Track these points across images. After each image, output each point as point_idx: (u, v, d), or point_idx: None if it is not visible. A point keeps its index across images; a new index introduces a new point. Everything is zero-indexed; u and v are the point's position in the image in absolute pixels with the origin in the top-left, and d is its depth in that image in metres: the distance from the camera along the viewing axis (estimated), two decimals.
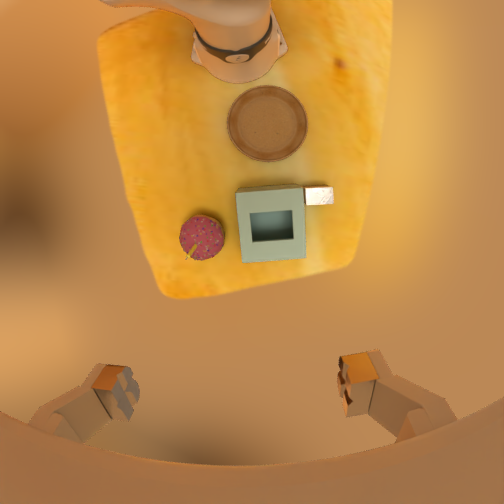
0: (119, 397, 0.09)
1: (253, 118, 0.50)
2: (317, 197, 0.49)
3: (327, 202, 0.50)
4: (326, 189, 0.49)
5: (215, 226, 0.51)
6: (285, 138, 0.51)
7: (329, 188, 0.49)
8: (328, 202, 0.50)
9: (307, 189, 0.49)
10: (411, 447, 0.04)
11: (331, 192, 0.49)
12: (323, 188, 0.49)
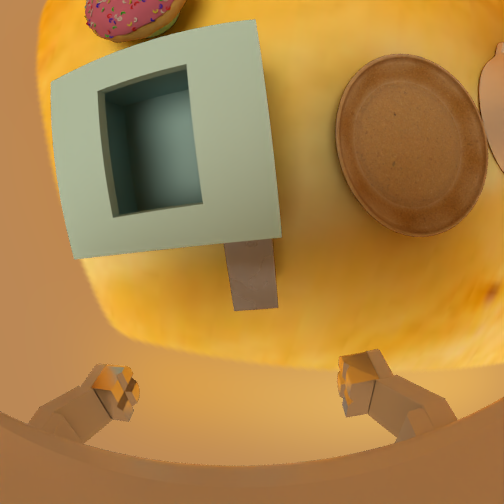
0: (119, 397, 0.09)
1: (423, 116, 0.18)
2: (247, 271, 0.18)
3: (236, 296, 0.19)
4: (271, 292, 0.19)
5: (156, 8, 0.12)
6: (383, 181, 0.21)
7: (274, 299, 0.19)
8: (236, 298, 0.19)
9: (269, 242, 0.18)
10: (411, 447, 0.04)
11: (263, 305, 0.19)
12: (273, 284, 0.19)
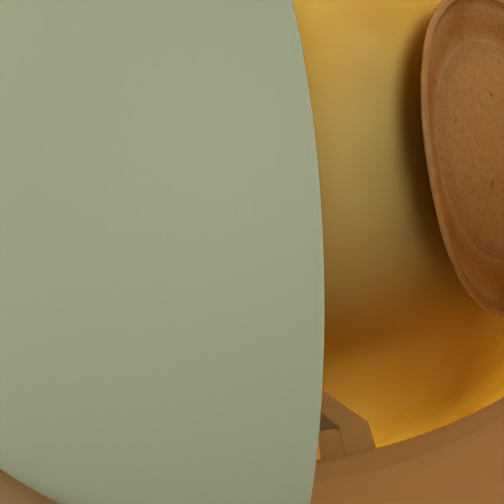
0: None
1: None
2: None
3: None
4: None
5: None
6: (476, 217, 0.09)
7: None
8: None
9: None
10: (411, 447, 0.04)
11: None
12: None
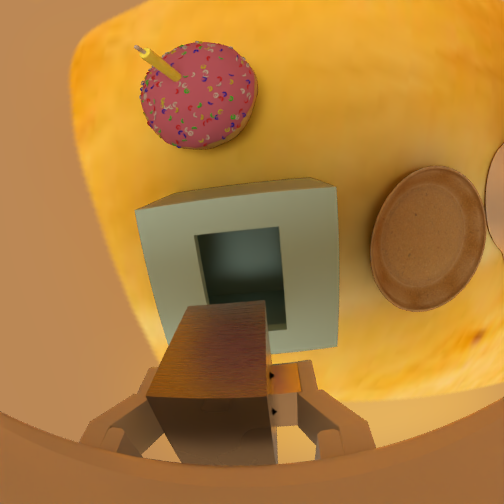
0: None
1: (437, 213, 0.24)
2: (210, 446, 0.07)
3: None
4: None
5: (227, 126, 0.18)
6: (399, 269, 0.26)
7: None
8: None
9: (259, 406, 0.06)
10: (411, 447, 0.04)
11: None
12: (270, 461, 0.07)
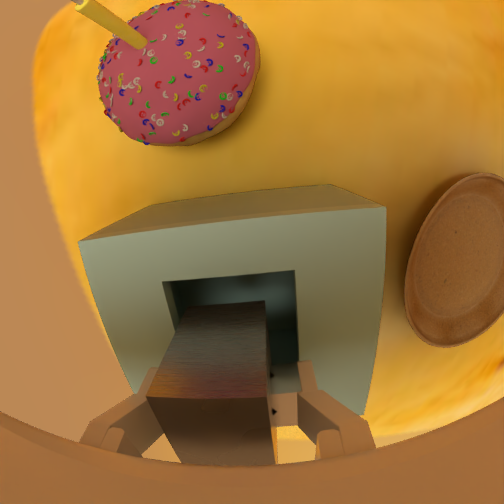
0: None
1: (479, 229, 0.18)
2: (210, 446, 0.07)
3: None
4: None
5: (215, 111, 0.12)
6: (433, 298, 0.20)
7: None
8: None
9: (259, 406, 0.06)
10: (411, 447, 0.04)
11: None
12: (270, 461, 0.07)
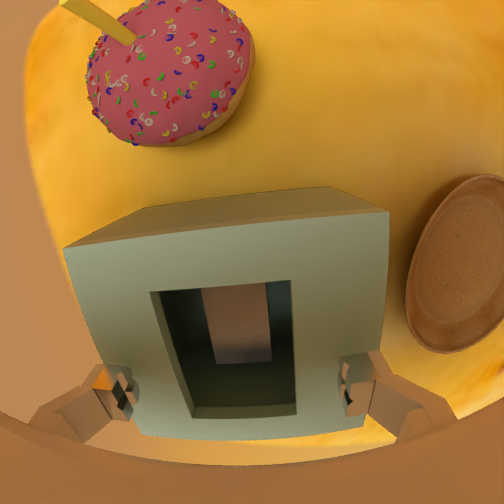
0: (119, 397, 0.09)
1: (481, 232, 0.17)
2: (232, 319, 0.14)
3: (218, 347, 0.14)
4: (263, 344, 0.14)
5: (207, 109, 0.11)
6: (434, 303, 0.19)
7: (267, 352, 0.14)
8: (218, 350, 0.14)
9: None
10: (411, 447, 0.04)
11: (253, 358, 0.14)
12: (266, 334, 0.14)
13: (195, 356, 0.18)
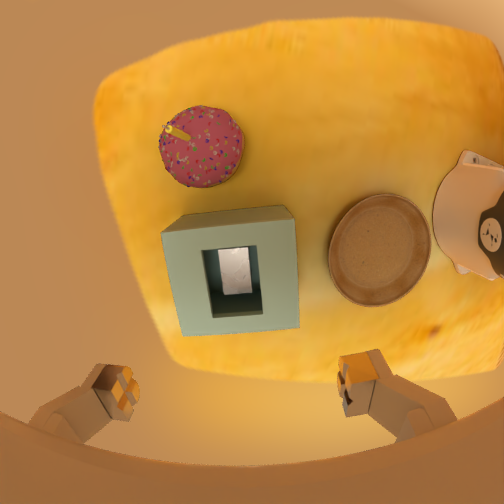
0: (119, 397, 0.09)
1: (387, 229, 0.34)
2: (232, 269, 0.29)
3: (225, 285, 0.30)
4: (247, 282, 0.30)
5: (223, 173, 0.27)
6: (355, 273, 0.36)
7: (249, 287, 0.30)
8: (225, 286, 0.30)
9: (246, 250, 0.29)
10: (411, 447, 0.04)
11: (242, 290, 0.30)
12: (249, 277, 0.30)
13: None
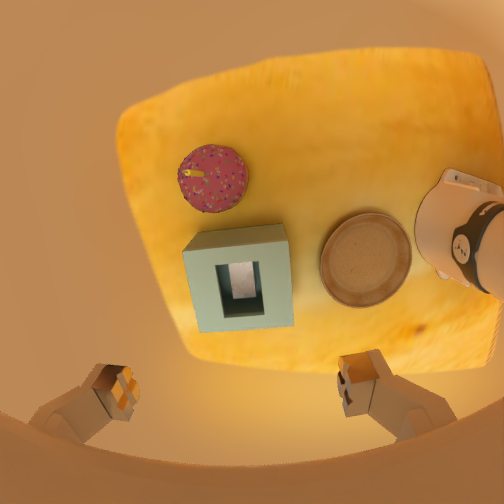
0: (119, 397, 0.09)
1: (373, 242, 0.40)
2: (240, 278, 0.36)
3: (234, 291, 0.37)
4: (252, 289, 0.37)
5: (231, 202, 0.33)
6: (344, 279, 0.42)
7: (254, 292, 0.37)
8: (234, 292, 0.37)
9: (250, 263, 0.36)
10: (411, 447, 0.04)
11: (248, 295, 0.37)
12: (253, 285, 0.37)
13: (221, 301, 0.41)
